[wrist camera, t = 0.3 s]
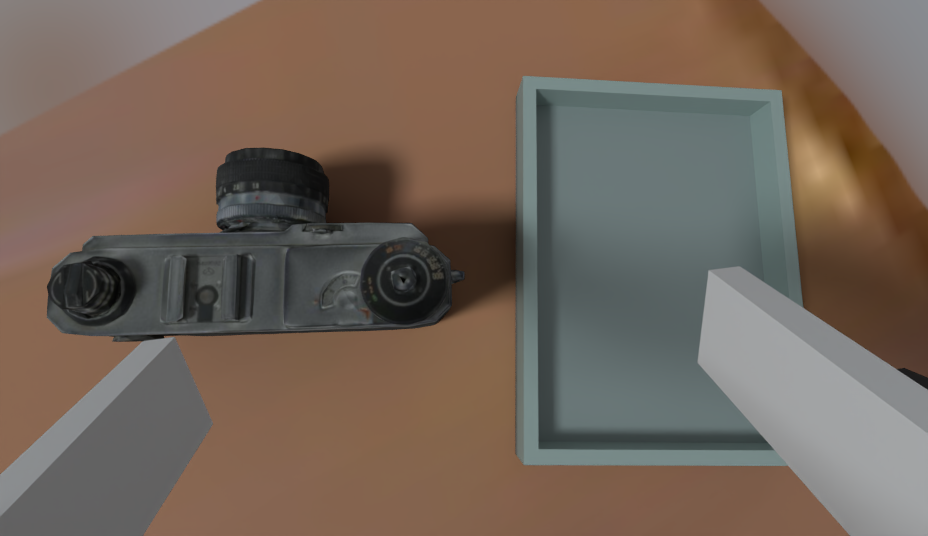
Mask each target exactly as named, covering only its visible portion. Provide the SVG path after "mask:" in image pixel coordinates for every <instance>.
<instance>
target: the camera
mask: <svg viewBox="0 0 928 536" xmlns="http://www.w3.org/2000/svg"><path fill="white" fill-rule="evenodd" d="M328 201H329V179H328V178H327V176H326V175H325V174H324V172H323V168H322V166H321V165H320V164H319V163H318V162H317V161H316V160H314V159H312V158H309V157H307V156H304V155H302V154H300V153H296V152H291V151H287V150H283V149H272V148H244V149H241V150H237V151H233V152H231V153H229V154H228V155H227V156H226V159H225V163H224V164H222V165H220V166H219V167H218V169H217V177H216V204H217V205H219V209H218V212H217V226H218V227H219V228H220V229H222V230H223V231H221V232H220V233H188V234H147V235H114V236H92V237H91V238H90V239H89V240H88V241H86V242H85V243H84V244H83V249H82V251H80V252H73V253H70V254H68V255H67V256H66V257H65V258H64V259H62V260H61V261H60V262H59V263H58V264H56V265H55V266H54V267H53V268H52V273H51V279H50V281H49V283H48V285H47V289H48V305H47V318H48V319H49V320H50V321H51V322H52V323H53V324H54V325H55V326H56V327H57V328H58V329H59V330H60V331H61V332H62V333H68V334H78V335H88V336H112V337H114V338H113V341H116V342H126V341H147V340H155V339H163V338H164V336H177V335H190V336H224V335H248V334H279V333H308V332H338V331H374V330H397V329H412V328H420V327H425V326H431V325H434V324H436V323H437V322H438V321H439V320H441V319H442V318H443V317H444V315H445V314H446V313H447V312H448V311H449V309H450V307H451V305H452V291H451V284H453V283H456V282H459V281H462V280H464V272H463V271H458V270H451V266H450V260H449V259H448V258H447V257H446V256H445V255H444V254H443V253H442V252H440V251H439V250H438V249H437V248H436V247H435V246H430V245H429V244H428V238H427V237H426V236H425V235H424V234H423V233H422V232H421V231H420V230H419V229H418V228H416V227H415V226H414V225H413V224H412V223H326V213H327V210H328Z"/></svg>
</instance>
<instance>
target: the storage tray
mask: <svg viewBox="0 0 928 536" xmlns="http://www.w3.org/2000/svg"><path fill="white" fill-rule="evenodd" d="M737 266H740V267H742V268H743V269H745V270H746V271H748V272H749V273H751V274H752V275H754V276H755V277H757V278H758V279H760V280H761V281H763V282H764V283H766V284H767V285H769V286H770V287H772V288H774V289H775V290H777V291H778V292H780V293H781V294H783V295H784V296H786V297H787V298H789V299H790V300H792V301H793V302H795V303H796V304H798V305H799V306H801V307H802V308H803V302H802V292H801V282H800V271H799V261H798V251H797V241H796V231H795V221H794V211H793V201H792V191H791V181H790V171H789V161H788V151H787V141H786V131H785V121H784V111H783V101H782V91H781V90H765V89H747V88H729V87H711V86H693V85H675V84H657V83H639V82H622V81H604V80H586V79H568V78H550V77H532V76H523V78H522V81H521V84H520V87H519V90H518V93H517V96H516V455H517V456H518V458H519V459H520V460H521V462H522V463H523V465H709V466H788V465H787V464H786V462H785V461H784V460H783V459H782V458H781V457H780V456H779V454H778V453H777V452H776V451H775V450H774V449H773V448H772V447H771V445H770V444H769V443H768V442H767V441H766V440H765V439H764V437H763V436H762V435H761V434H760V433H759V432H758V431H757V430H756V428H755V427H754V426H753V425H752V424H751V423H750V422H749V420H748V419H747V418H746V417H745V416H744V415H743V414H742V413H741V411H740V410H739V409H738V408H737V407H736V406H735V405H734V403H733V402H732V401H731V400H730V399H729V398H728V397H727V396H726V394H725V393H724V392H723V391H722V390H721V389H720V388H719V386H718V385H717V384H716V383H715V382H714V381H713V380H712V378H711V377H710V376H709V375H708V374H707V373H706V372H705V371H704V369H703V368H702V367H701V366H700V365H699V364H698V363H697V362H698V354H699V345H700V337H701V329H702V321H703V312H704V304H705V296H706V288H707V280H708V271H709V270H713V269H721V268H729V267H737Z"/></svg>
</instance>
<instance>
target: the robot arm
mask: <svg viewBox="0 0 928 536" xmlns="http://www.w3.org/2000/svg"><path fill="white" fill-rule="evenodd" d="M697 363H698V364H699V365H700V366H701V367H702V368H703V369H704V371H705V372H706V373H707V374H708V375H709V376H710V377H711V378H712V380H713V381H714V382H715V383H716V384H717V385H718V386H719V388H720V389H721V390H722V391H723V392H724V393H725V394H726V396H727V397H728V398H729V399H730V400H731V401H732V402H733V403H734V405H735V406H736V407H737V408H738V409H739V410H740V411H741V413H742V414H743V415H744V416H745V417H746V418H747V419H748V420H749V422H750V423H751V424H752V425H753V426H754V427H755V428H756V430H757V431H758V432H759V433H760V434H761V435H762V436H763V437H764V439H765V440H766V441H767V442H768V443H769V444H770V445H771V447H772V448H773V449H774V450H775V451H776V452H777V453H778V454H779V456H780V457H781V458H782V459H783V460H784V461H785V462H786V464H787V465H788V466H789V467H790V468H791V469H792V470H793V471H794V473H795V474H796V475H797V476H798V477H799V478H800V479H801V481H802V482H803V483H804V484H805V485H806V486H807V487H808V488H809V490H810V491H811V492H812V493H813V494H814V495H815V496H816V498H817V499H818V500H819V501H820V502H821V503H822V504H823V505H824V507H825V508H826V509H827V510H828V511H829V512H830V513H831V515H832V516H833V517H834V518H835V519H836V520H837V521H838V522H839V524H840V525H841V526H842V527H843V528H844V529H845V530H846V532H847V533H848V534H849V535H850V536H928V378H927V377H924V376H922V375H920V374H917V373H915V372H912V371H910V370H908V369H905V368H902V369H895V368H894V367H892V366H891V365H889V364H888V363H886V362H885V361H883V360H882V359H880V358H878V357H877V356H875V355H874V354H872V353H871V352H869V351H868V350H866V349H865V348H863V347H862V346H860V345H859V344H857V343H856V342H854V341H853V340H851V339H850V338H848V337H847V336H845V335H843V334H842V333H840V332H839V331H837V330H836V329H834V328H833V327H831V326H830V325H828V324H827V323H825V322H824V321H822V320H821V319H819V318H818V317H816V316H815V315H813V314H812V313H810V312H809V311H807V310H805V309H804V308H802V307H801V306H799V305H798V304H796V303H795V302H793V301H792V300H790V299H789V298H787V297H786V296H784V295H783V294H781V293H780V292H778V291H777V290H775V289H774V288H772V287H770V286H769V285H767V284H766V283H764V282H763V281H761V280H760V279H758V278H757V277H755V276H754V275H752V274H751V273H749V272H748V271H746V270H745V269H743V268H742V267H740V266H737V267H729V268H721V269H713V270H709V271H708V280H707V288H706V296H705V304H704V312H703V321H702V329H701V337H700V345H699V354H698V362H697ZM212 425H213V422H212V420H211V418H210V416H209V413H208V411H207V409H206V407H205V404H204V402H203V400H202V398H201V395H200V393H199V391H198V389H197V386H196V384H195V382H194V380H193V377H192V375H191V373H190V370H189V368H188V366H187V364H186V361H185V359H184V357H183V355H182V352H181V350H180V348H179V346H178V343H177V341H176V339H175V337H171V338H163V339H155V340H147V341H143V342H142V343H141V344H140V345H139V346H138V347H136V348H135V349H134V350H133V351H132V352H131V353H130V354H129V355H128V356H127V357H126V358H125V359H124V360H123V361H121V362H120V363H119V364H118V365H117V366H116V367H115V368H114V369H113V370H112V371H111V372H110V373H109V374H108V375H106V376H105V377H104V378H103V379H102V380H101V381H100V382H99V383H98V384H97V385H96V386H95V387H94V388H93V389H91V390H90V391H89V392H88V393H87V394H86V395H85V396H84V397H83V398H82V399H81V400H80V401H79V402H78V403H76V404H75V405H74V406H73V407H72V408H71V409H70V410H69V411H68V412H67V413H66V414H65V415H64V416H63V417H61V418H60V419H59V420H58V421H57V422H56V423H55V424H54V425H53V426H52V427H51V428H50V429H49V430H48V431H46V432H45V433H44V434H43V435H42V436H41V437H40V438H39V439H38V440H37V441H36V442H35V443H34V444H33V445H31V446H30V447H29V448H28V449H27V450H26V451H25V452H24V453H23V454H22V455H21V456H20V457H19V458H18V459H16V460H15V461H14V462H13V463H12V464H11V465H10V466H9V467H8V468H7V469H6V470H5V471H4V472H3V473H1V474H0V536H143V535H144V533H145V531H146V530H147V528H148V527H149V525H150V523H151V522H152V520H153V519H154V517H155V515H156V514H157V512H158V511H159V509H160V508H161V506H162V504H163V503H164V501H165V500H166V498H167V496H168V495H169V493H170V492H171V490H172V488H173V487H174V485H175V484H176V482H177V480H178V479H179V477H180V476H181V474H182V472H183V471H184V469H185V468H186V466H187V464H188V463H189V461H190V460H191V458H192V457H193V455H194V453H195V452H196V450H197V449H198V447H199V445H200V444H201V442H202V441H203V439H204V437H205V436H206V434H207V433H208V431H209V429H210V428H211V426H212Z"/></svg>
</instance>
